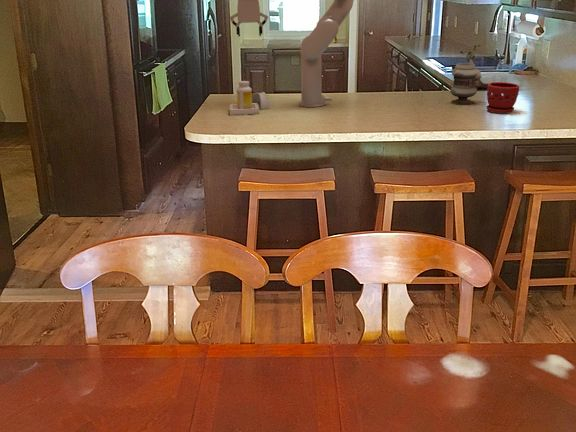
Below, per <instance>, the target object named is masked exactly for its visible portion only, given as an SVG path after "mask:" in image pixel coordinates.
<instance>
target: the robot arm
mask: <svg viewBox="0 0 576 432" xmlns="http://www.w3.org/2000/svg"><path fill="white" fill-rule="evenodd" d="M353 5H354V0H334V1H333V3H332V4H331V5H330V6H329V8H328V9H327V11H326V12H325V13H324V14H323V16H322V17H321V18H320V19H319V20H318V21H317V22H316V26H315V27H314V29H313V30H312V31H311V33H310V34H309V35H307V36H305V38H303V39H302V41H301V43H300V75H301V76H300V77H301V79H300V80H301V81H300V82H301V83H300V85H301V88H300V89H301V93H300V94H301V101H298V103H297V104H298V105H297V106H298V107H299V106H300V107H302V106H303V108H305V107H306V108H319V107H323V106H325V105H326V103H325V102H331V101H332V96H324V95H323V93H322V79H323V78H322V73H323V72H322V68H323V67H322V66H323V63H322V60H323V59H322V54H323V53H324V52H326V49H327V48H328V47H329V46H330V45H331V43H332V42H333V41H334V40H335V38H336V37H337V35H338V33H339V27H340V26H341V25H342V23H343V22H344V21H345V20H346V18H347V16H348V15H349V14H350V12H351V10H352V8H353ZM236 10H237V12H236V13H234V14H233V15H231V16H229V20H230V22H231V23H232V24H233V26H235V27H236V35H238V37H240V36H241V32H240V31H241V29H240V28H241V27H240V25H241V24H244V23H246V24H248V23H250V24H251V23H253V24H254V23H257V24H258V31H259V32H258V35H259V37H261V36H262V34H263V26H265V24H266V23H267V21H268V18H269V16H268V15H267V14H264V13H263V12H261V11H260V10H261V9H260V2H259V0H237V9H236ZM236 17H237V22H236V21H235V20H234V19H235V18H236ZM261 17H262V18H263V21H262V22H261Z"/></svg>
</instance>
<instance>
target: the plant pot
mask: <svg viewBox="0 0 576 432" xmlns="http://www.w3.org/2000/svg"><path fill="white" fill-rule="evenodd" d="M486 89H487V90H486V100H487V104H488V105H486V107H485V108H486V110H487V111H488V112H490V113H494V114H510V113H512V112H513V111H514V110H515V107H514V105H515V104H516V102H517V98H518V96H519V92H520V85H519V84H518V83H512V82H507V81H505V82H501V81H498V82H497V81H495V82H489V84H488V87H487V88H486Z"/></svg>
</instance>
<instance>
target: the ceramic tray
mask: <svg viewBox="0 0 576 432" xmlns="http://www.w3.org/2000/svg"><path fill="white" fill-rule="evenodd" d="M244 114H259V115H260V107H259V104H252V109H238V105H237V104H236V103H234V104H229V116H230V115H233V116H245V115H244Z"/></svg>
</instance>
